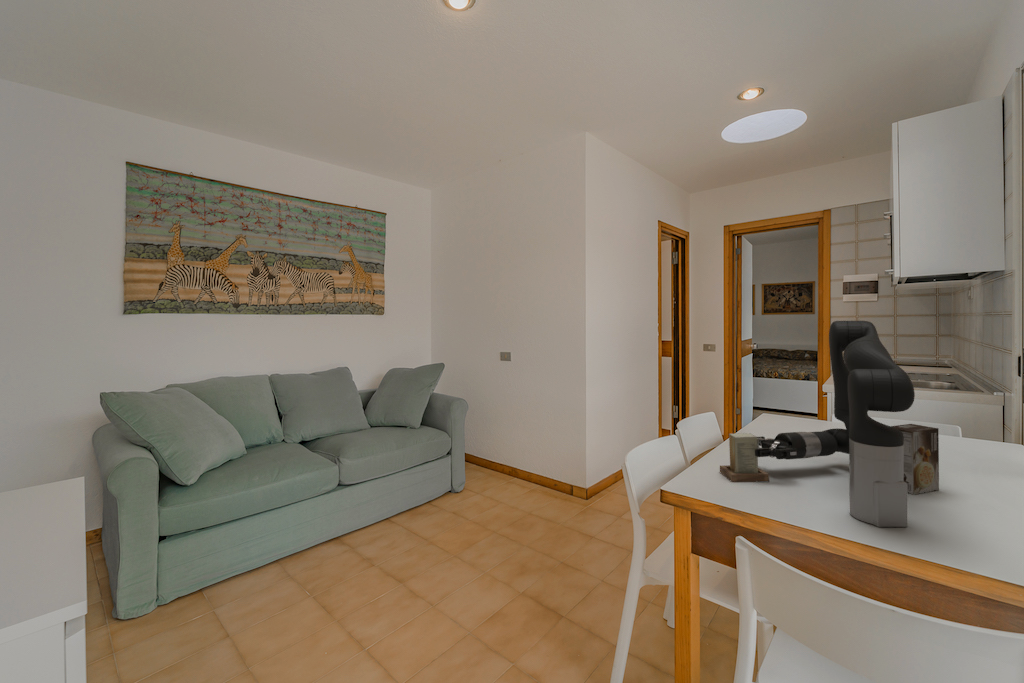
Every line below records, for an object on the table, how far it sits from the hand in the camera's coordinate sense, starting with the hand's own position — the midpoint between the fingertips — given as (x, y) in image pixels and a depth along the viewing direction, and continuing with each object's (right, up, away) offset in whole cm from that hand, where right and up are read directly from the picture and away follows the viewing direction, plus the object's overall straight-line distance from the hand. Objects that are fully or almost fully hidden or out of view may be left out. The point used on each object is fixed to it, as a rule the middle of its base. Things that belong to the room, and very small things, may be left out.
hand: (745, 448), depth 124 cm
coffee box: (+37, -8, -12) cm, 39 cm away
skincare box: (-1, -8, 0) cm, 8 cm away
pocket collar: (-1, -8, 0) cm, 8 cm away
